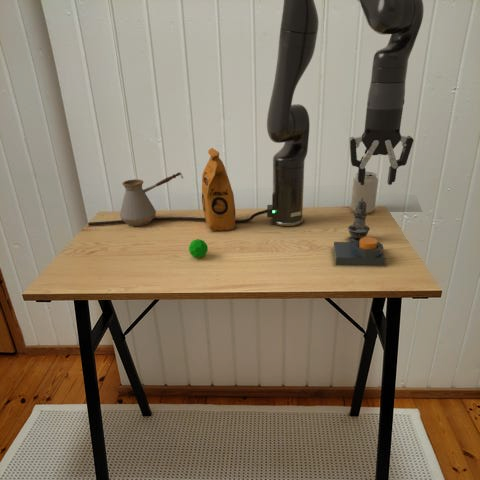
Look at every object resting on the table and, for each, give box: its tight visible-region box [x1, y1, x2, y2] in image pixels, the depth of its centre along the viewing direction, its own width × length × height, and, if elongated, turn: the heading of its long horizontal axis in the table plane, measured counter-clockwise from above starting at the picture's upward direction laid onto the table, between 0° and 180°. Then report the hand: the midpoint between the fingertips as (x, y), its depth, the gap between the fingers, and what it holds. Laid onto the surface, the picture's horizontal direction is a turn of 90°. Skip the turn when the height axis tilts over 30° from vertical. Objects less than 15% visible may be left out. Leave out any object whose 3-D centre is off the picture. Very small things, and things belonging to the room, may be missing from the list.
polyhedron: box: [188, 238, 209, 259], centre depth 121 cm, size 5×5×5 cm
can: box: [350, 171, 379, 215], centre depth 145 cm, size 8×8×12 cm
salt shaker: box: [347, 199, 371, 242], centre depth 125 cm, size 6×6×12 cm
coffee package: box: [201, 147, 237, 232], centre depth 136 cm, size 10×12×22 cm
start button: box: [359, 236, 379, 250], centre depth 114 cm, size 4×4×2 cm
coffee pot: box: [119, 171, 184, 227], centre depth 143 cm, size 21×12×15 cm, turn 95°
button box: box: [332, 241, 386, 267], centre depth 117 cm, size 12×10×4 cm
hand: (375, 183), depth 106 cm, fingers open, 5 cm apart
